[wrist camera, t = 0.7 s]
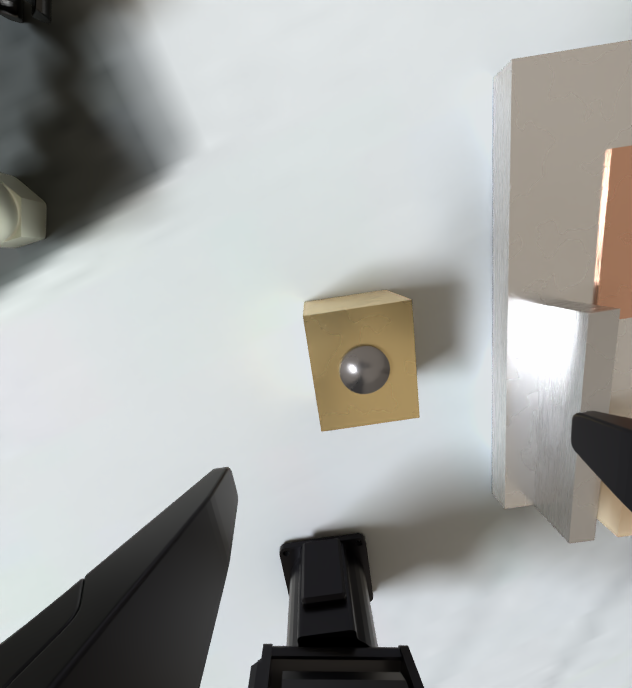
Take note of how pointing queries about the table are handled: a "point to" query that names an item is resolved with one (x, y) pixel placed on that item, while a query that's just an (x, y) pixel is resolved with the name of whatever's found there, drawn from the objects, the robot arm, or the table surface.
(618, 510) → the ram
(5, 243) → the valve
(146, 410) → the table surface
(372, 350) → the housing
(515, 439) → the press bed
